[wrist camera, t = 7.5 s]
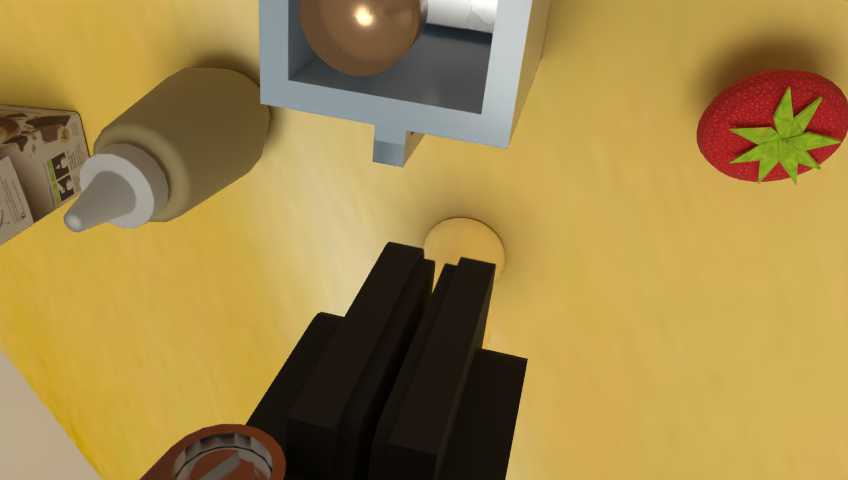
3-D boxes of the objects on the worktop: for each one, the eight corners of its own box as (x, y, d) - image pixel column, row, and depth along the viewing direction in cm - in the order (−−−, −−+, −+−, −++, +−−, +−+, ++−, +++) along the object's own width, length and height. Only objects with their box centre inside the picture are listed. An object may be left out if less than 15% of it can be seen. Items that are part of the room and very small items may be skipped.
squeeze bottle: (286, 169, 54) (152, 303, 39) (185, 149, 56) (18, 271, 40) (286, 62, 50) (137, 165, 35) (178, 43, 52) (-12, 134, 36)
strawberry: (681, 65, 44) (693, 121, 36) (820, 29, 42) (869, 81, 33) (698, 154, 47) (714, 227, 38) (831, 125, 44) (880, 197, 35)
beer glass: (404, 223, 54) (335, 345, 41) (493, 201, 52) (448, 323, 39) (438, 301, 57) (383, 438, 44) (524, 283, 54) (492, 423, 41)
